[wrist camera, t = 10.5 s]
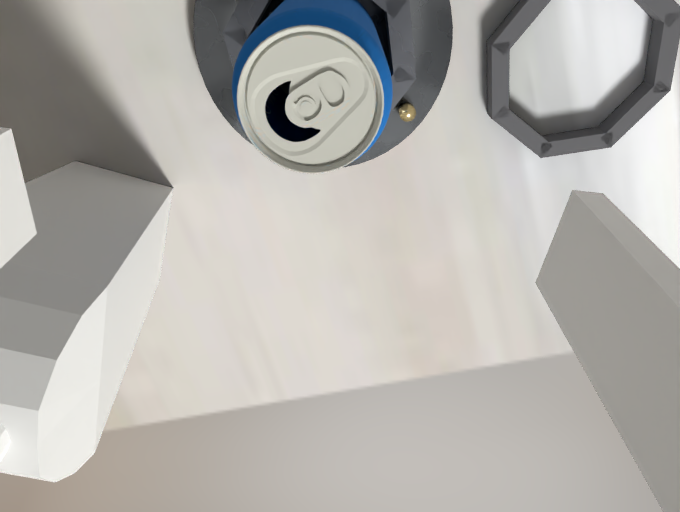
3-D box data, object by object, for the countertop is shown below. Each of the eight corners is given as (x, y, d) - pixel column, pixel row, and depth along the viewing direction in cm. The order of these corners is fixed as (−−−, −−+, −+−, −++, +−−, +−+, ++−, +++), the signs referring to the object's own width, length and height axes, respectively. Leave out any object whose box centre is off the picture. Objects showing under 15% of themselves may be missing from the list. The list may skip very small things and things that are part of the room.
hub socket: (154, 75, 31) (136, 89, 28) (283, -185, 24) (275, -201, 22) (351, 203, 35) (351, 225, 33) (504, 13, 29) (520, 20, 26)
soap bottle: (34, 121, 32) (-602, 494, 11) (189, 165, 34) (-87, 570, 12) (36, 271, 39) (-360, 698, 17) (167, 302, 40) (-41, 730, 19)
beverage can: (244, 25, 29) (189, 73, 18) (342, -41, 27) (341, -28, 17) (304, 122, 32) (286, 209, 21) (396, 69, 30) (423, 135, 20)
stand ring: (451, 84, 31) (454, 89, 30) (586, -83, 26) (596, -84, 25) (566, 176, 34) (573, 183, 33) (704, 42, 30) (717, 45, 29)
